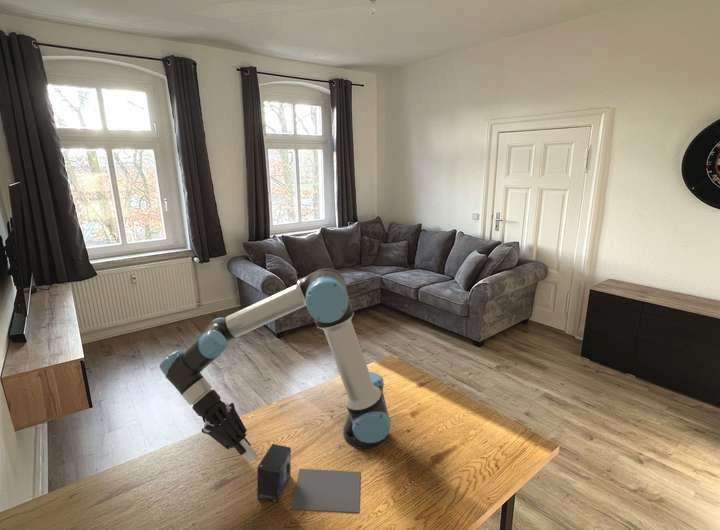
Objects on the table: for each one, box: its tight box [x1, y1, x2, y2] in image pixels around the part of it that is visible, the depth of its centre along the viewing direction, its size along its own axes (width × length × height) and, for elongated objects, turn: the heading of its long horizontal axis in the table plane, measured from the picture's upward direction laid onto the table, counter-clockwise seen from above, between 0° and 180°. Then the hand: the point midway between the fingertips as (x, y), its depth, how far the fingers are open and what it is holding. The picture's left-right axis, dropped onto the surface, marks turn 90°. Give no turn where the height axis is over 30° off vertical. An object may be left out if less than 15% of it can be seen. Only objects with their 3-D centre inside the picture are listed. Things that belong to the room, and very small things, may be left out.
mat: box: [289, 468, 361, 514], centre depth 114 cm, size 19×15×1 cm
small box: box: [256, 443, 292, 503], centre depth 114 cm, size 11×6×10 cm, turn 168°
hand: (253, 459), depth 114 cm, fingers closed
